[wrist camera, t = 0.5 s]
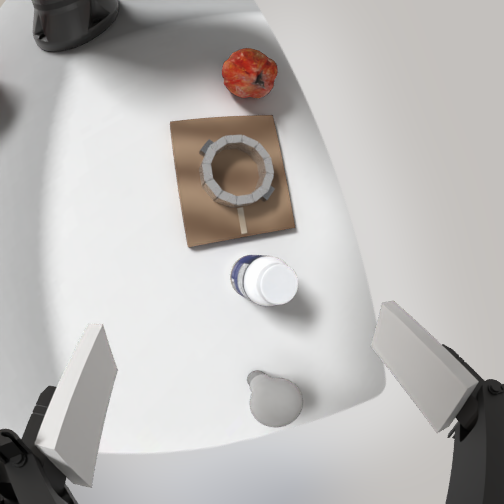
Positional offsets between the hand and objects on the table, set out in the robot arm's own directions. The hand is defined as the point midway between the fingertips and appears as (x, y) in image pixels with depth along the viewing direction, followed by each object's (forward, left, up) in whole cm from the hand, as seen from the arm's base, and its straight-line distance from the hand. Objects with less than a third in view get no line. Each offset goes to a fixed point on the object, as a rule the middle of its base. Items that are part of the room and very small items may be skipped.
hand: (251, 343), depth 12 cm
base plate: (-12, +7, -23) cm, 27 cm away
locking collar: (-12, +7, -23) cm, 27 cm away
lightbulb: (+15, +5, -23) cm, 28 cm away
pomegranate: (-26, +11, -23) cm, 37 cm away
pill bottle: (+1, +7, -23) cm, 24 cm away
